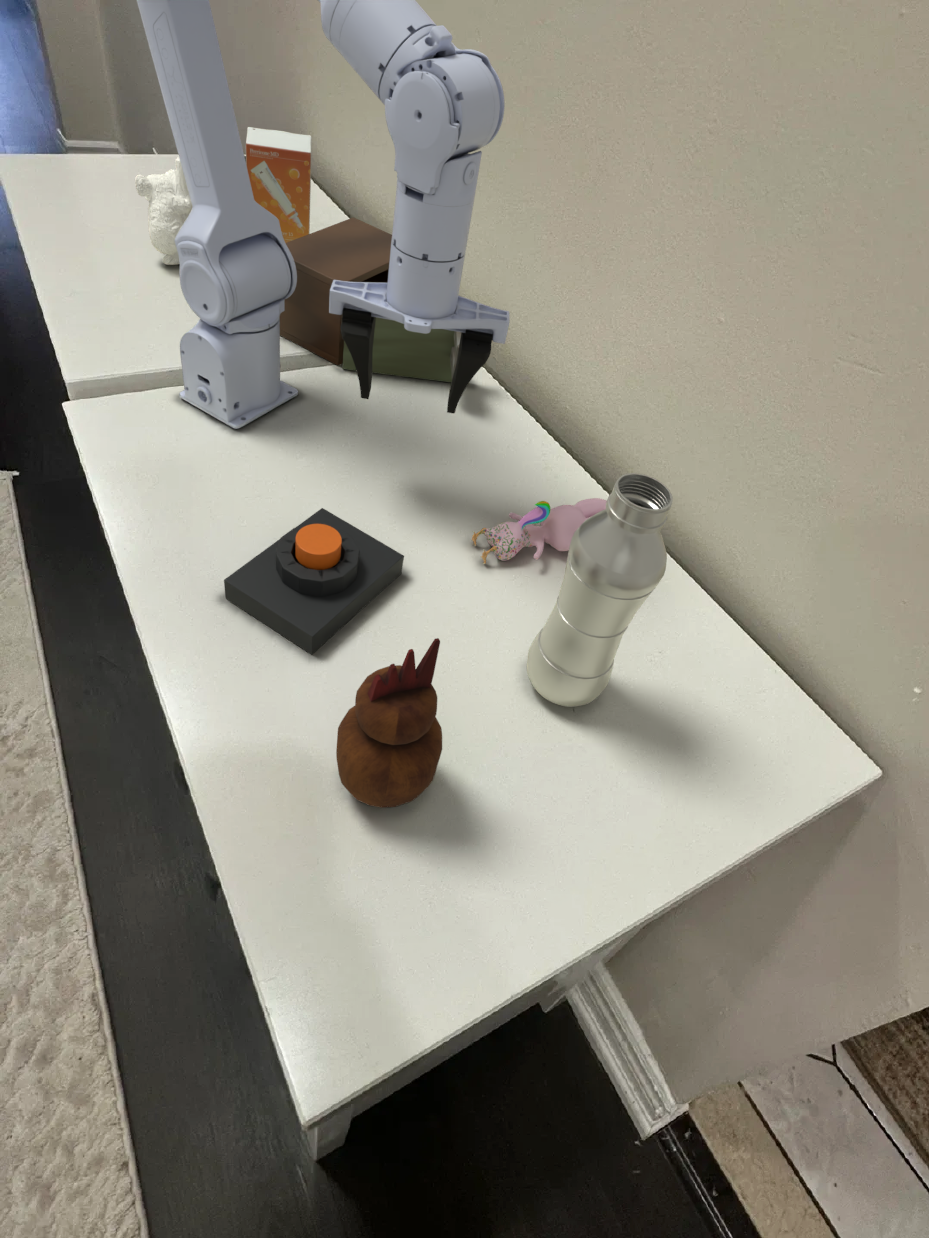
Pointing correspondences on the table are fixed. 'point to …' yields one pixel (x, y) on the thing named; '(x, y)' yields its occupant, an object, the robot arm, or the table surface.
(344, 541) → the control block
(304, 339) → the cupboard
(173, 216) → the koala figurine
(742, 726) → the table surface
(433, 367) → the cupboard door
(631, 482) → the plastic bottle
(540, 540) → the pink plastic animal figure
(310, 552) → the button
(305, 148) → the small box
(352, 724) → the wooden figurine
